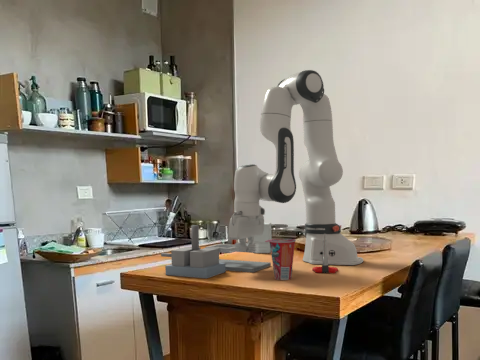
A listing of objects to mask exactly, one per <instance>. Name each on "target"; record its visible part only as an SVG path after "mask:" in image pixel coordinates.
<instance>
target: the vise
mask: <svg viewBox="0 0 480 360" xmlns="http://www.w3.org/2000/svg"><path fill="white" fill-rule="evenodd" d="M190 227H191V246H187V247H181V248H177V249H172V250H171V253H169V252H168V253H167V252H161V253H160V257H163V258H164V257H165V258H171V264H166V265H165V270H164V271H165V275H166V276H176V277H185V278H186V277H187V278H198V279H208V278H209V279H210V278H212V277H215V276H218V275H221V274H224V273H226V270H225V263H219V259H220V252H219V248H205V247H204V248H201V246H200V233H199V232H200V231H199V225H196V224H193V225H191V226H190Z"/></svg>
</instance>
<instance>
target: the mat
mask: <svg viewBox="0 0 480 360" xmlns="http://www.w3.org/2000/svg"><path fill="white" fill-rule="evenodd" d="M219 263H225V271H228V270H229V271H231V272H241V271H242V273H243V272H244V273H255V272H258V271H261V270H264V269H266V268H268V267H271V264H272V263H271V262H269V261H268V262H267V261H253V260H239V259H238V260H237V259H223V258H222V259H221V258H219Z"/></svg>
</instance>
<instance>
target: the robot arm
mask: <svg viewBox="0 0 480 360" xmlns="http://www.w3.org/2000/svg"><path fill="white" fill-rule="evenodd" d="M261 105H262V106H261V112H260V120H259V129H260V131H259V132H260V134H261V135H262V136H263V137H264V139H266V140H267V141H269V142H271V143H272V144H273V145H274V147H275V171H274V173H273V174H272V173H268V172H266V171H264V170H262V169H261V168H259V167H258V165H257V164H251V163H250V164H246V165H241V166H238V167H236V170H235V172H234V180H233V190H234V191H233V192H234V202H233V203H234V204H233V206H234V207H233V208H234V209H233V214H232V215H231V218H230V219H229V225H228V238H229V239H230V240H235V241H237V240H238V241H239V242H240V245H241V251H247V250H248V249H247V248H248V246H247V245H246V243H253V242H254V236H258V235H262V234H263V232H264V223H265V215H266V210H265V208H263V207H262V206H261V205H260V201H262V202H263V201H267V202H275V203H280V204H286V203H288V202H290V201H291V200H292V199H293V198H294V196H295V195H296V192H297V191H296V190H297V182H296V177H295V161H294V158H295V157H294V156H295V151H294V150H295V148H294V143H295V142H294V135H293V133H292V130H291V122H292V121H291V120H292V109H293V107H294V106H295V105H296V106H297V105H299V106H300V107H301V110H302V113H303V117H302V122H303V123H302V124H303V125H302V126H303V127H302V129H303V143H304V146H305V148H306V150H307V155H308V159H309V160H307V161H305V162H304V163H303V164H302V165H301V166H300V167H299V170H298V176H299V177H298V178H299V180H300V181H301V185H302V191H303V195H304V202H305V224H304V235H305V236H304V237H305V243H304V244H305V246H304V253H303V257H302V261H303V262H305V263H309V264H312V265H323V240H324V234H326V240H327V257H328V265H337V266H340V265H341V266H354V265H360V264H362V263H363V262H364V258H363V257H360V256H358V252H357V251H358V250H357V247H356V245H355V244H354V242H352V241H351V240H350V239H348V238H347V237H346V236H344V235H343V234H342V233H341V231H342V225H340V224H338V223H336V202H335V199H334V198H333V196H332V191H331V188H330V187H332V186H334V185H336V184H337V183H339V181H340V180H341V179H342V177H343V174H344V171H343V166H342V164H341V163H340V161H339V159H338V156H337V152H336V148H335V142H334V141H335V140H334V129H333V128H334V127H333V113H332V112H333V111H332V107H331V103H330V98H329V97H328V96H327V95H326V94H325V88H324V82H323V79H322V76H321V75H320V74H319V72H317V70H313V69H307V70H305V69H304V70H303V71H300V72H296V73H294V74H291V75H290V76H289V77H287V78H284V79H282V80H281V81H279V83H277V85H276V86H273V87H270V88H268V89H267V91H266V92H265V94H264V98H263V101H262V104H261Z"/></svg>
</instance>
